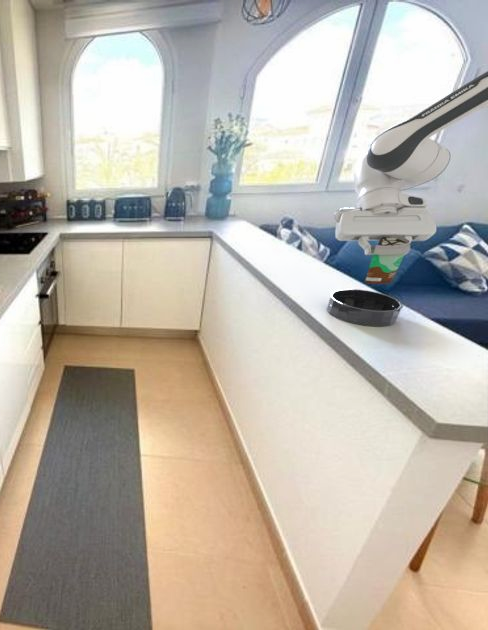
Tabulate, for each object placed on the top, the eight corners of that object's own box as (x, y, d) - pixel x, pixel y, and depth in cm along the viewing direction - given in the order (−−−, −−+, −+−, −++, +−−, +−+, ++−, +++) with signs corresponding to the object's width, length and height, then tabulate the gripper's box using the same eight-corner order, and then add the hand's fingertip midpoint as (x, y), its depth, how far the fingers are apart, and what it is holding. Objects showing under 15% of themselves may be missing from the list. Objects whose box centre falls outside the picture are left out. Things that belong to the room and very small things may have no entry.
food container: (396, 289, 81) (411, 248, 77) (363, 284, 85) (375, 245, 81) (400, 274, 89) (414, 235, 85) (370, 270, 93) (381, 233, 89)
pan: (379, 304, 102) (384, 290, 100) (409, 328, 89) (416, 313, 87) (318, 301, 106) (322, 288, 104) (339, 324, 93) (343, 309, 91)
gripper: (339, 201, 91) (344, 247, 87) (435, 199, 85) (446, 248, 81) (328, 215, 97) (332, 259, 92) (418, 214, 91) (426, 260, 87)
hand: (386, 254), depth 87 cm, fingers closed on food container, 5 cm apart
